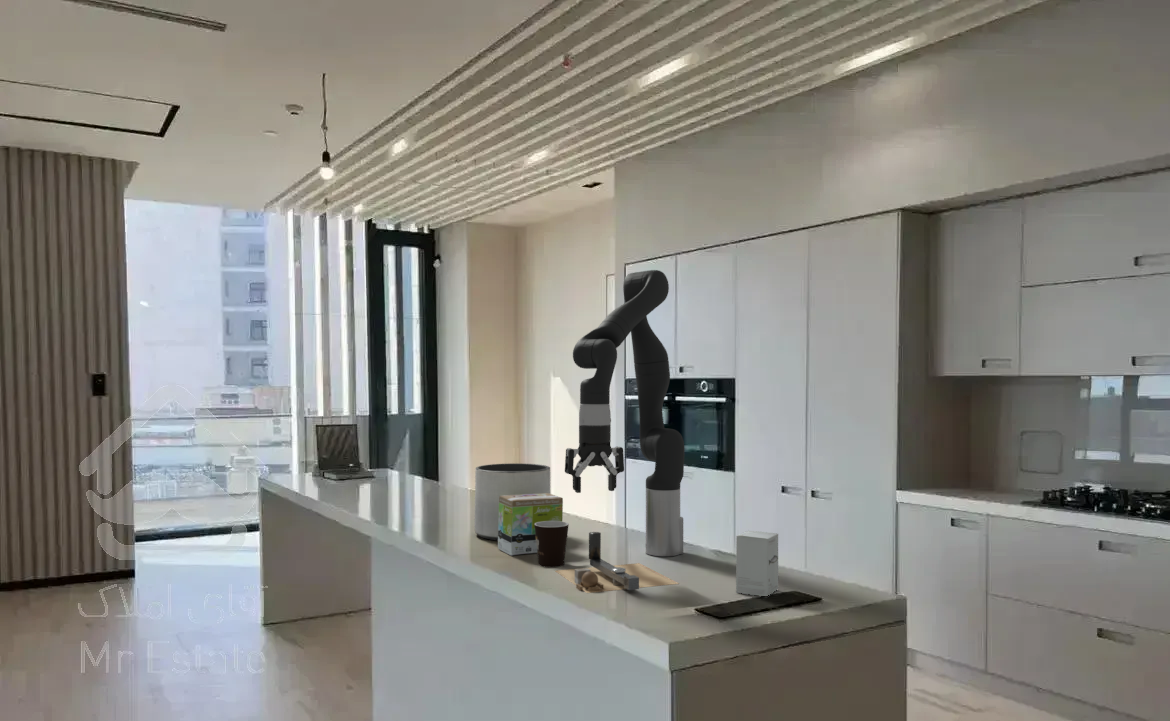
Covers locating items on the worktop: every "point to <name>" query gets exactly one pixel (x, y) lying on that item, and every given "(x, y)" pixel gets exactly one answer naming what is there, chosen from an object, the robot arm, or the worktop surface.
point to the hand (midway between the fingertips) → (594, 491)
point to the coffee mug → (551, 542)
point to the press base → (609, 584)
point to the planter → (504, 491)
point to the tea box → (525, 520)
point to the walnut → (589, 579)
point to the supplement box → (756, 563)
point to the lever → (614, 572)
